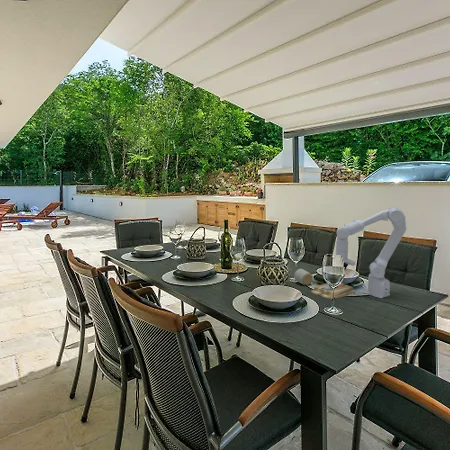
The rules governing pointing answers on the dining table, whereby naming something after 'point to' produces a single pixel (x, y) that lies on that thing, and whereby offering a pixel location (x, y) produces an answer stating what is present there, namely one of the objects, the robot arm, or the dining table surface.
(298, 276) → the grey canister
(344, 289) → the light wood flat board
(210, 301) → the dining table surface
